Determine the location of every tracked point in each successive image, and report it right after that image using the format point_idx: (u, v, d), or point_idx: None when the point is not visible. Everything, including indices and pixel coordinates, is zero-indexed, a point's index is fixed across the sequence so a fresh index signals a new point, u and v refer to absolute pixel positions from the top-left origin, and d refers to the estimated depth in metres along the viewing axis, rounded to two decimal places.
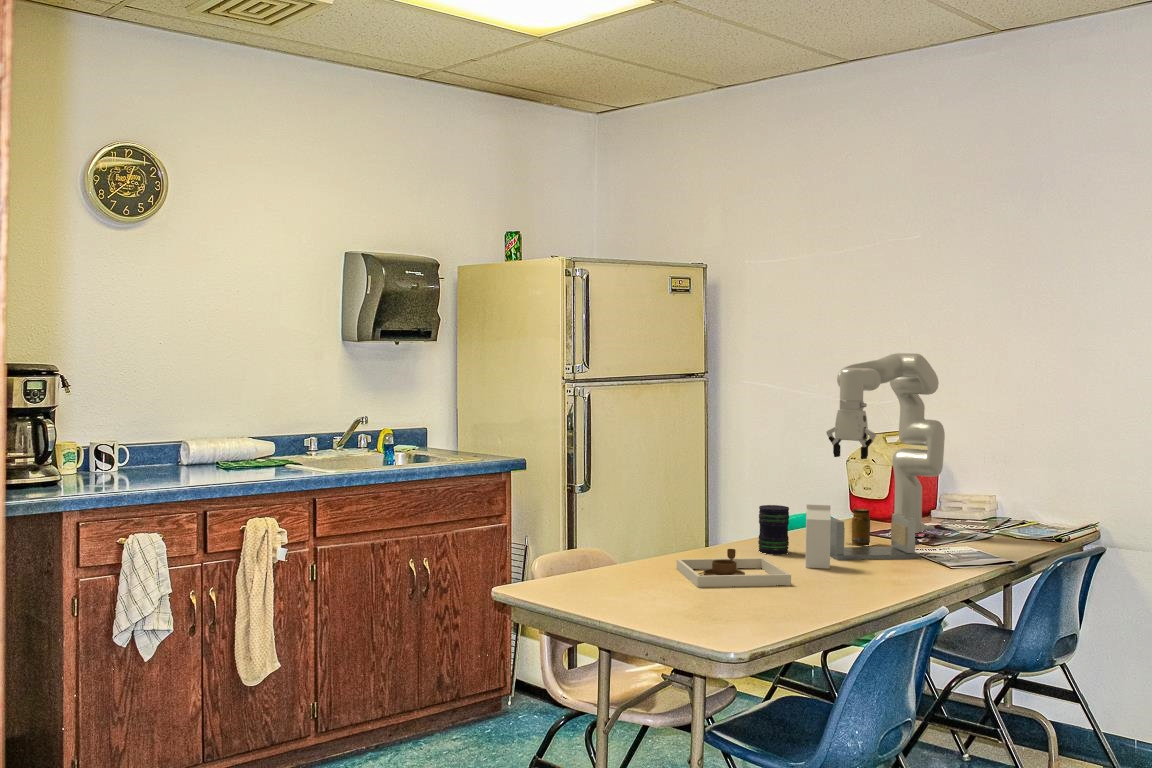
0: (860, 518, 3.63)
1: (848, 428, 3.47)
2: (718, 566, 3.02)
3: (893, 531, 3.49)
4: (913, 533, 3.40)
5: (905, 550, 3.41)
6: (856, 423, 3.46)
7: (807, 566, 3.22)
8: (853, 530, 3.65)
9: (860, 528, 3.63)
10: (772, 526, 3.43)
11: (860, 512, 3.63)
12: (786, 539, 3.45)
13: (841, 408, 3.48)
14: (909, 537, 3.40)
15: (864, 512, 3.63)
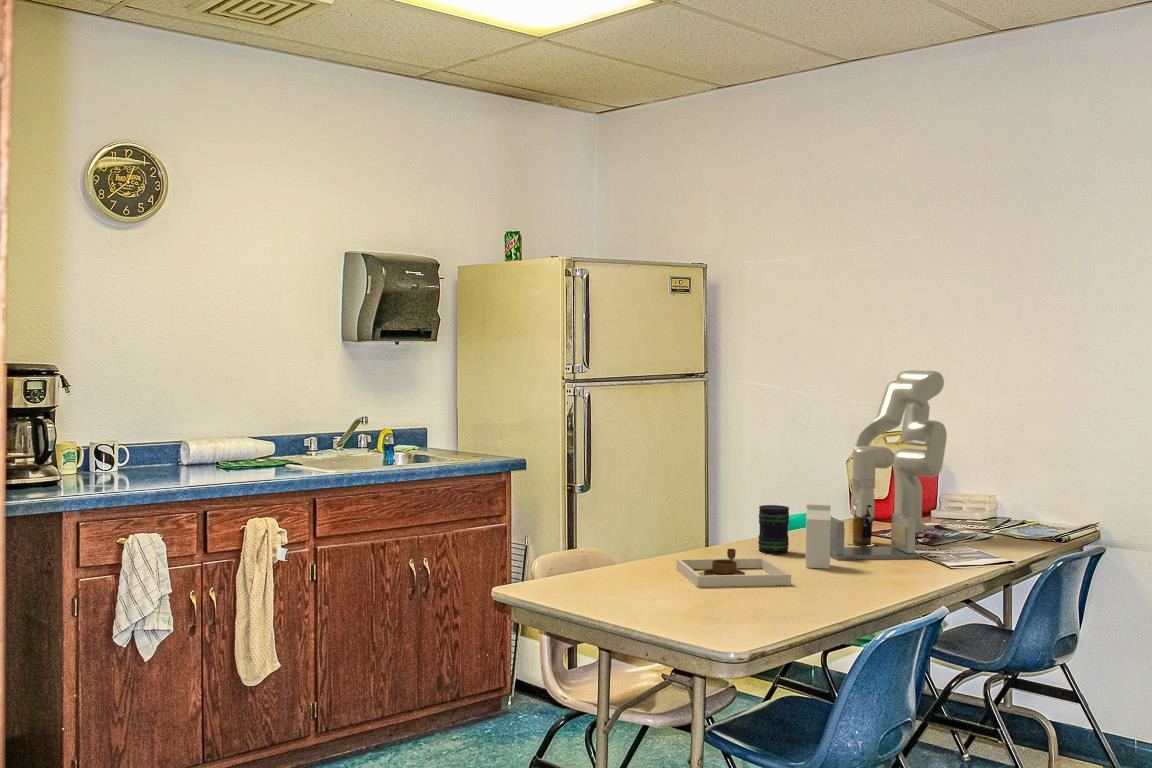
0: (861, 518, 3.62)
1: None
2: (718, 566, 3.02)
3: (893, 531, 3.49)
4: (913, 533, 3.40)
5: (905, 550, 3.41)
6: None
7: (807, 566, 3.22)
8: (854, 530, 3.64)
9: (861, 528, 3.62)
10: (772, 526, 3.43)
11: None
12: (786, 539, 3.45)
13: (874, 486, 3.63)
14: (909, 537, 3.40)
15: None
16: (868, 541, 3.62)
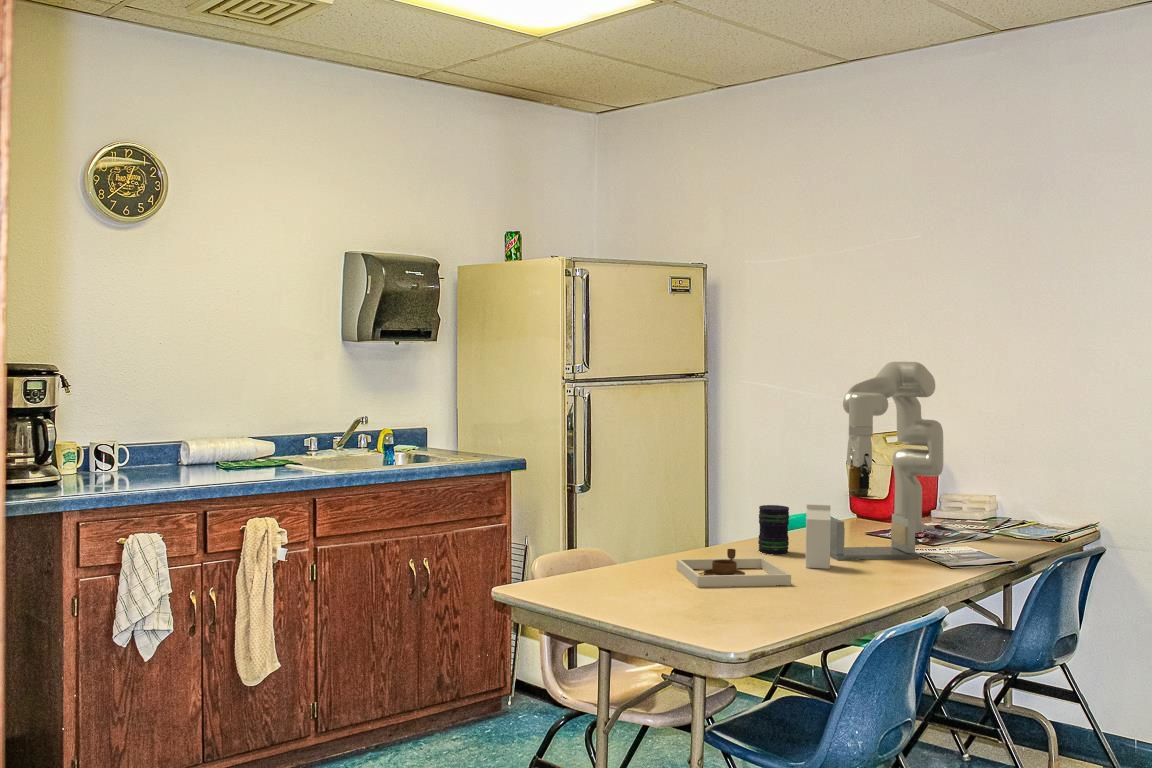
0: (858, 468, 3.40)
1: None
2: (718, 566, 3.02)
3: (893, 531, 3.49)
4: (913, 533, 3.40)
5: (905, 550, 3.41)
6: None
7: (807, 566, 3.22)
8: (850, 481, 3.42)
9: (857, 479, 3.40)
10: (772, 526, 3.43)
11: None
12: (786, 539, 3.45)
13: (872, 434, 3.41)
14: (909, 537, 3.40)
15: None
16: (865, 492, 3.41)
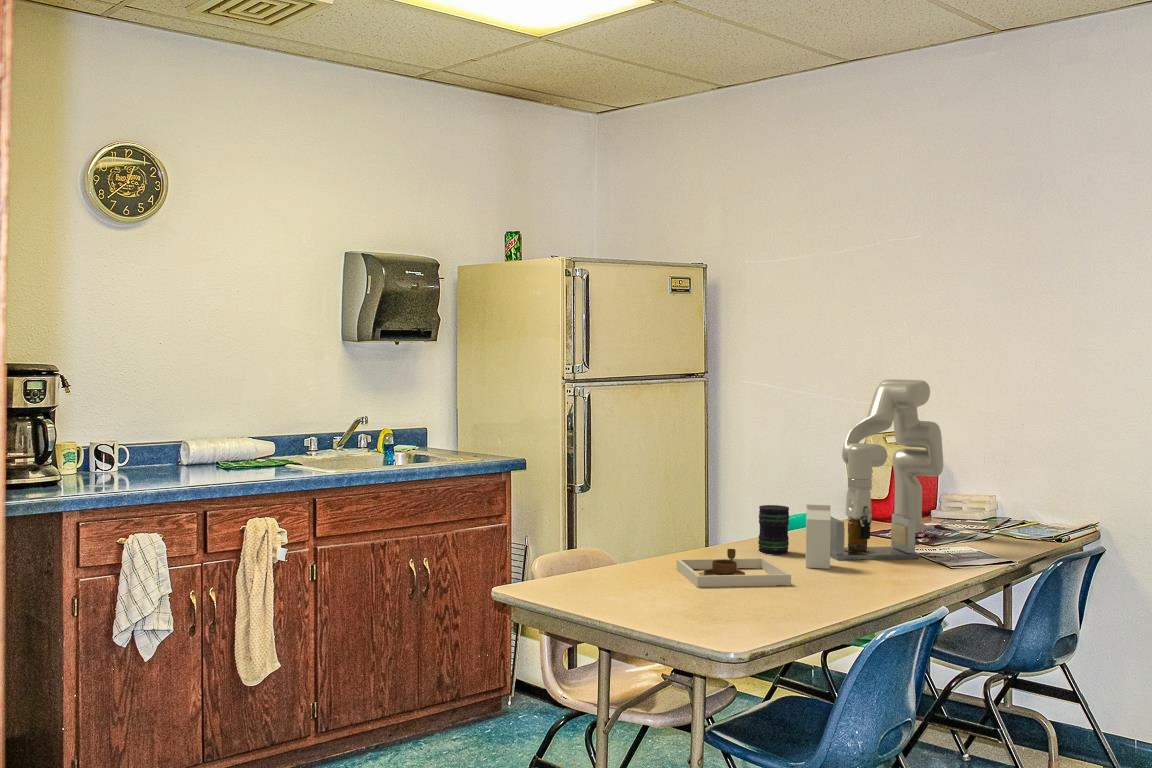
0: (857, 523, 3.41)
1: None
2: (718, 566, 3.02)
3: (893, 531, 3.49)
4: (913, 533, 3.40)
5: (905, 550, 3.41)
6: None
7: (807, 566, 3.22)
8: (849, 536, 3.43)
9: (856, 534, 3.41)
10: (771, 526, 3.43)
11: None
12: (786, 539, 3.45)
13: (871, 486, 3.42)
14: (909, 537, 3.40)
15: None
16: (864, 547, 3.41)
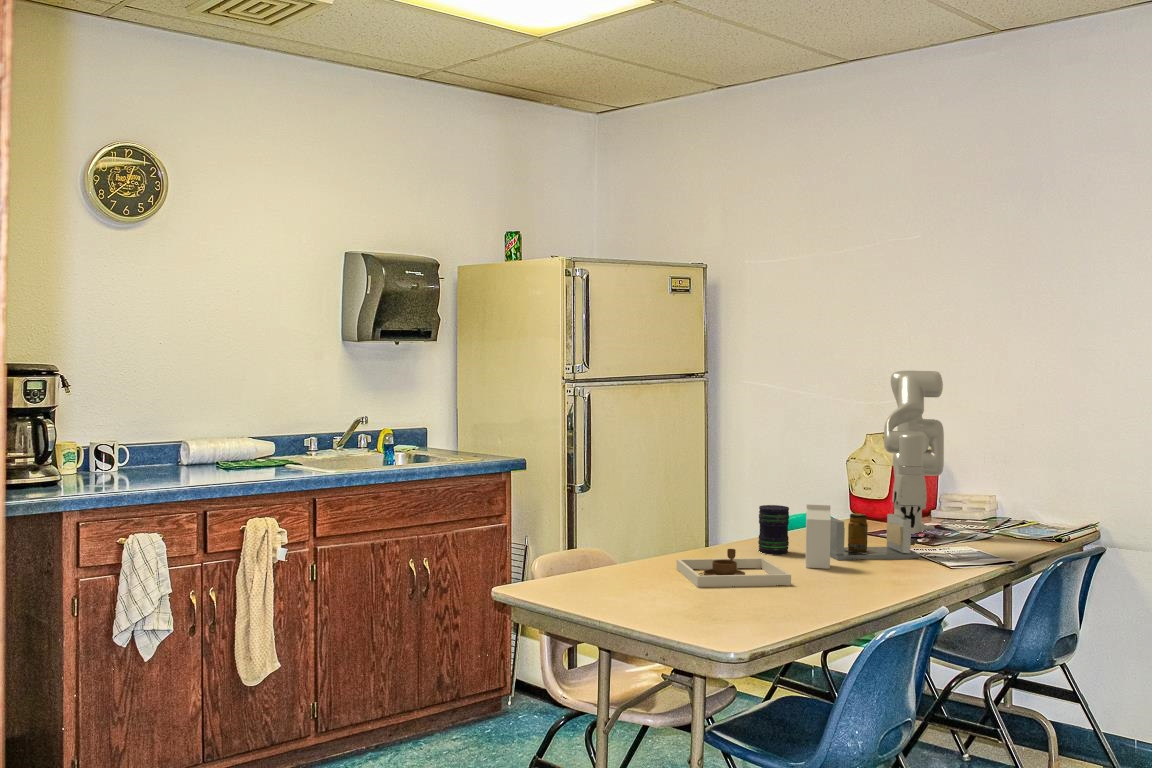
0: (857, 523, 3.41)
1: (914, 494, 3.43)
2: (718, 566, 3.02)
3: (888, 531, 3.49)
4: (908, 533, 3.40)
5: (900, 550, 3.41)
6: (922, 488, 3.44)
7: (807, 566, 3.22)
8: (849, 536, 3.43)
9: (856, 534, 3.41)
10: (772, 526, 3.43)
11: (857, 517, 3.41)
12: (786, 539, 3.45)
13: (909, 474, 3.42)
14: (904, 537, 3.39)
15: (861, 517, 3.41)
16: (864, 547, 3.41)
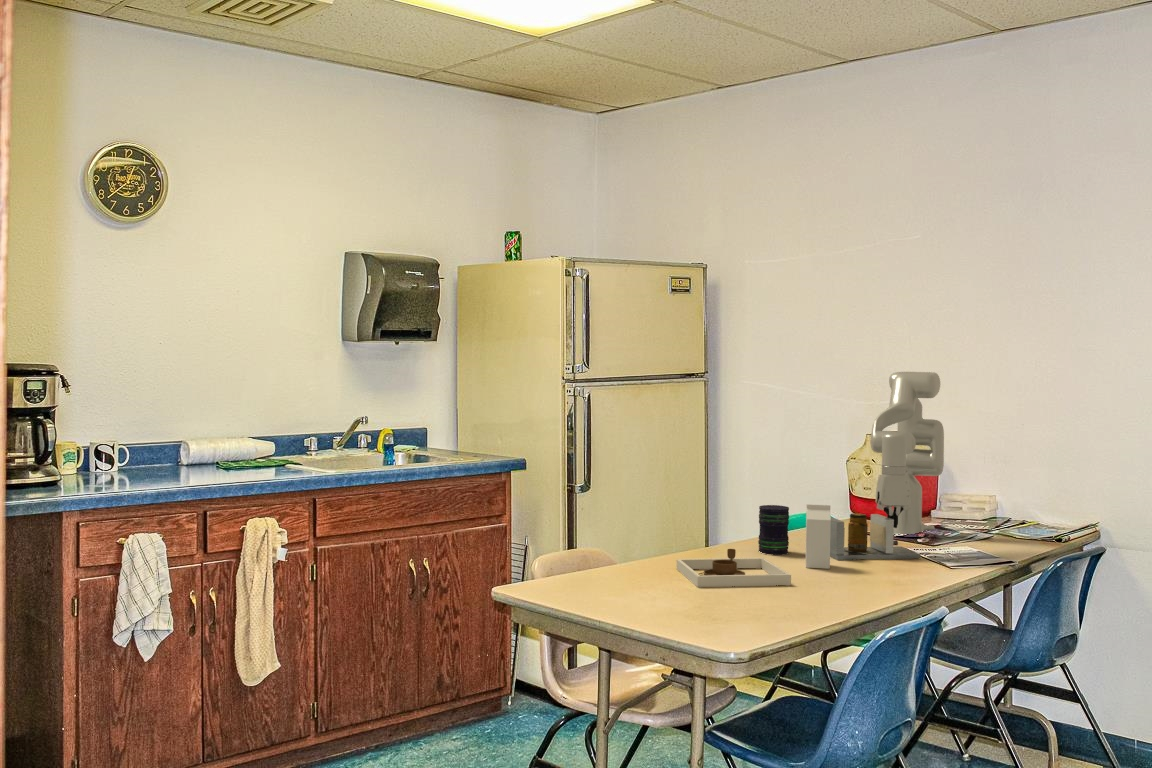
0: (857, 523, 3.41)
1: (897, 494, 3.42)
2: (718, 566, 3.02)
3: (871, 532, 3.48)
4: (891, 533, 3.39)
5: (883, 550, 3.40)
6: (905, 489, 3.43)
7: (807, 566, 3.22)
8: (849, 536, 3.43)
9: (856, 534, 3.41)
10: (772, 526, 3.43)
11: (857, 517, 3.41)
12: (786, 539, 3.45)
13: (892, 474, 3.41)
14: (887, 537, 3.39)
15: (861, 517, 3.41)
16: (864, 547, 3.41)
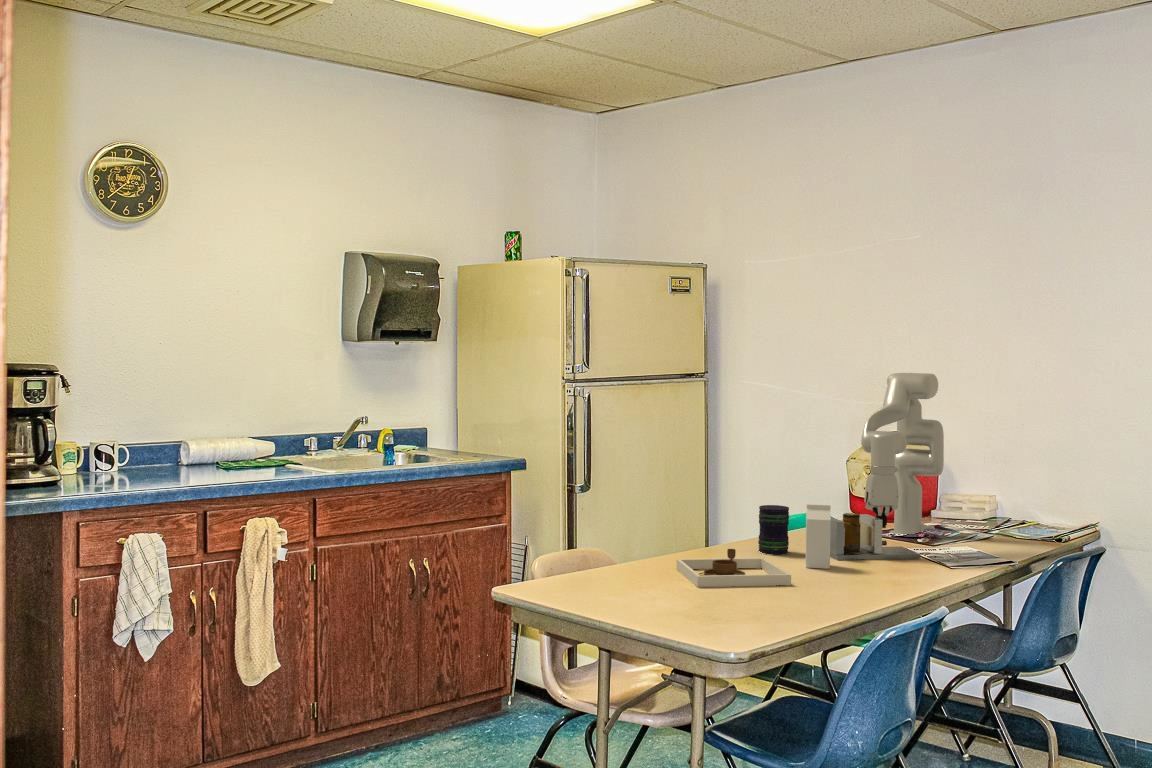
0: (849, 523, 3.41)
1: (886, 494, 3.42)
2: (718, 566, 3.02)
3: (860, 532, 3.47)
4: (880, 533, 3.38)
5: (872, 551, 3.40)
6: (894, 489, 3.42)
7: (807, 566, 3.22)
8: None
9: (848, 534, 3.41)
10: (771, 526, 3.43)
11: (849, 517, 3.41)
12: (786, 539, 3.45)
13: (881, 474, 3.41)
14: (876, 537, 3.38)
15: (853, 517, 3.41)
16: (856, 547, 3.41)
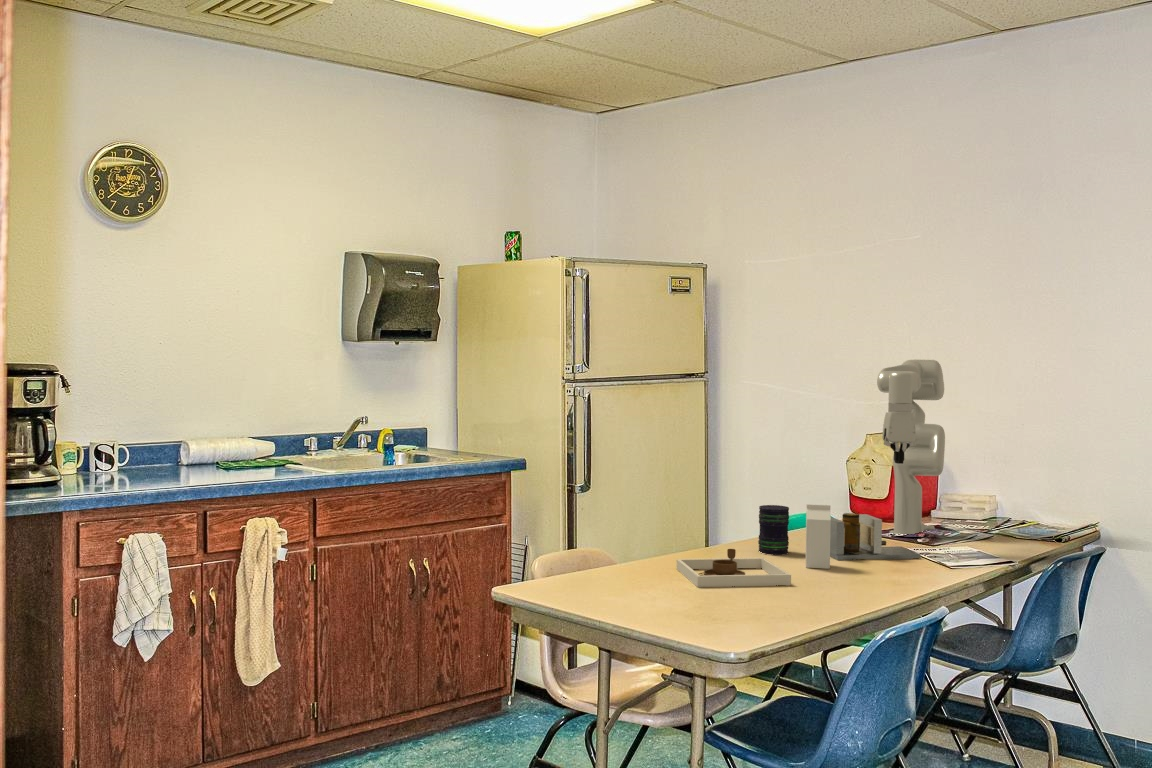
0: (848, 523, 3.41)
1: (903, 430, 3.53)
2: (718, 566, 3.02)
3: (860, 532, 3.47)
4: (879, 533, 3.38)
5: (871, 551, 3.40)
6: (912, 425, 3.53)
7: (807, 566, 3.22)
8: None
9: (847, 534, 3.41)
10: (771, 526, 3.43)
11: (848, 517, 3.41)
12: (786, 539, 3.45)
13: (899, 411, 3.51)
14: (875, 537, 3.38)
15: (852, 517, 3.41)
16: (856, 547, 3.41)
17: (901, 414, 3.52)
